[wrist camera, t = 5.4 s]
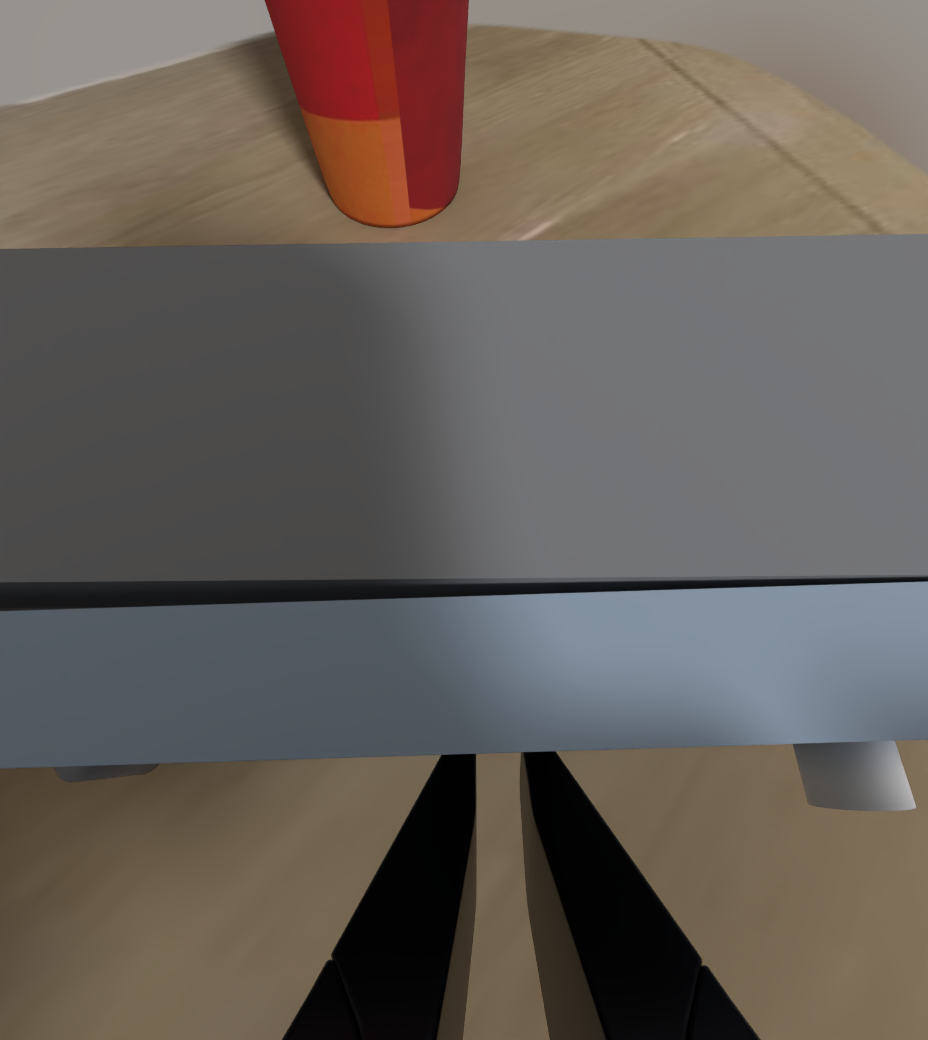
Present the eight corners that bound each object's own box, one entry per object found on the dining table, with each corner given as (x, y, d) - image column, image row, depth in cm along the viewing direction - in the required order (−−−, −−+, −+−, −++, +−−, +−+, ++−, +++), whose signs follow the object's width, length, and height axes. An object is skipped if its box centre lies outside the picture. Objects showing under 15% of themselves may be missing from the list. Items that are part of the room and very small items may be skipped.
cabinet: (752, 676, 15) (1254, 571, 5) (178, 680, 15) (-330, 584, 6) (719, 517, 17) (1042, 232, 7) (209, 523, 17) (-127, 251, 8)
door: (783, 781, 14) (1449, 880, 4) (138, 801, 14) (-565, 942, 4) (758, 674, 15) (1249, 570, 5) (159, 693, 15) (-375, 623, 5)
